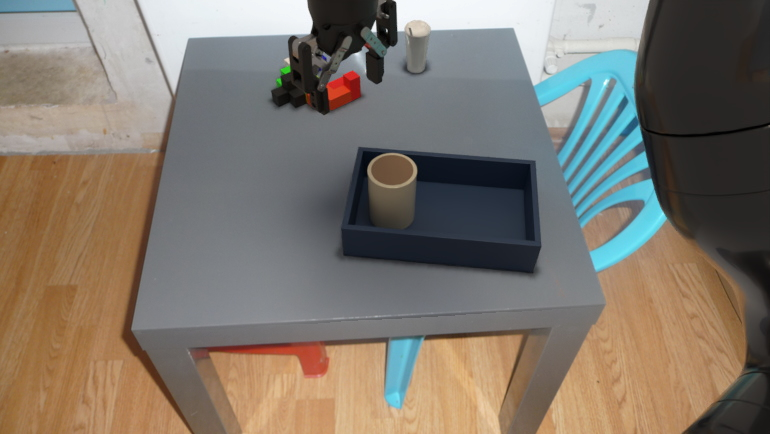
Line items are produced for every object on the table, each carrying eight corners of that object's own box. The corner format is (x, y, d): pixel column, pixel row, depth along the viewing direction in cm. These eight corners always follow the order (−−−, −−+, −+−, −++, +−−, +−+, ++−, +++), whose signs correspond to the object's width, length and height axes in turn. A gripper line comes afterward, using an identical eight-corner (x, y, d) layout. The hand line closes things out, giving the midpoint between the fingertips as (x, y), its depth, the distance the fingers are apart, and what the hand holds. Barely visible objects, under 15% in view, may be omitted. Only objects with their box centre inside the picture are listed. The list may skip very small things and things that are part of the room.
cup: (424, 214, 84) (427, 170, 77) (391, 239, 81) (391, 195, 75) (392, 190, 87) (392, 145, 81) (359, 213, 85) (357, 168, 78)
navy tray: (528, 188, 88) (535, 160, 84) (533, 272, 78) (541, 246, 74) (359, 174, 90) (358, 146, 86) (343, 255, 80) (340, 228, 76)
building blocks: (254, 82, 105) (249, 62, 102) (314, 56, 110) (312, 36, 107) (298, 126, 98) (295, 105, 94) (361, 96, 103) (360, 75, 99)
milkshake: (396, 73, 107) (397, 24, 99) (410, 58, 110) (412, 9, 102) (419, 81, 105) (421, 31, 98) (432, 65, 108) (435, 16, 101)
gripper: (309, 5, 54) (324, 137, 67) (416, -45, 61) (411, 84, 73) (261, -23, 58) (283, 107, 70) (367, -68, 64) (370, 58, 76)
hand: (348, 95), depth 72 cm, fingers open, 8 cm apart
